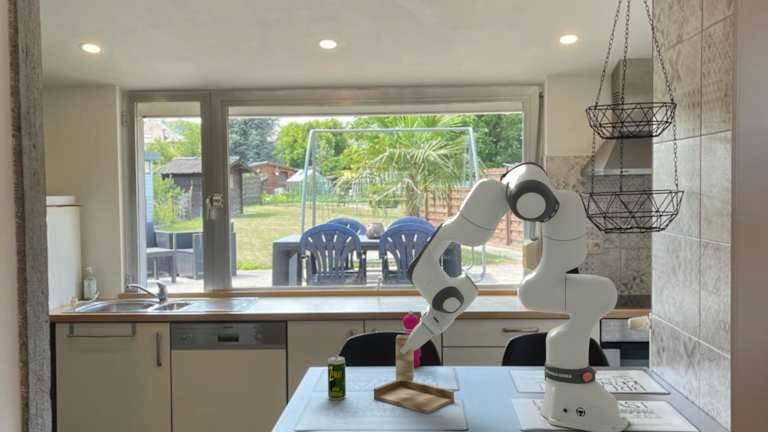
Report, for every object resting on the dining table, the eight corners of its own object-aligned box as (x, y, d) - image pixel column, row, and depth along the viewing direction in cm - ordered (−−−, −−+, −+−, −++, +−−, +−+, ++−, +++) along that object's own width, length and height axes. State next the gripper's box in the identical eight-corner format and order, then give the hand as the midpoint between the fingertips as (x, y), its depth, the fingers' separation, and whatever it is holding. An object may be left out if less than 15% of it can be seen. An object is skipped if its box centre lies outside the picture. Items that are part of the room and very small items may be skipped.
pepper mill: (421, 362, 209) (420, 308, 208) (420, 367, 201) (420, 312, 201) (402, 361, 209) (401, 308, 209) (400, 367, 202) (400, 312, 202)
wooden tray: (454, 401, 167) (453, 391, 167) (427, 413, 157) (427, 403, 157) (401, 387, 180) (401, 378, 180) (373, 398, 170) (373, 388, 170)
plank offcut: (413, 377, 171) (413, 335, 171) (412, 381, 168) (412, 337, 168) (397, 377, 172) (397, 334, 172) (395, 380, 169) (395, 337, 169)
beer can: (329, 394, 174) (328, 356, 173) (346, 394, 174) (345, 356, 173) (327, 400, 168) (326, 361, 168) (345, 400, 168) (344, 360, 168)
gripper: (430, 305, 179) (400, 335, 181) (424, 317, 159) (390, 350, 161) (444, 319, 178) (414, 349, 180) (439, 333, 158) (405, 366, 160)
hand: (402, 350), depth 170 cm, fingers closed on plank offcut, 3 cm apart
